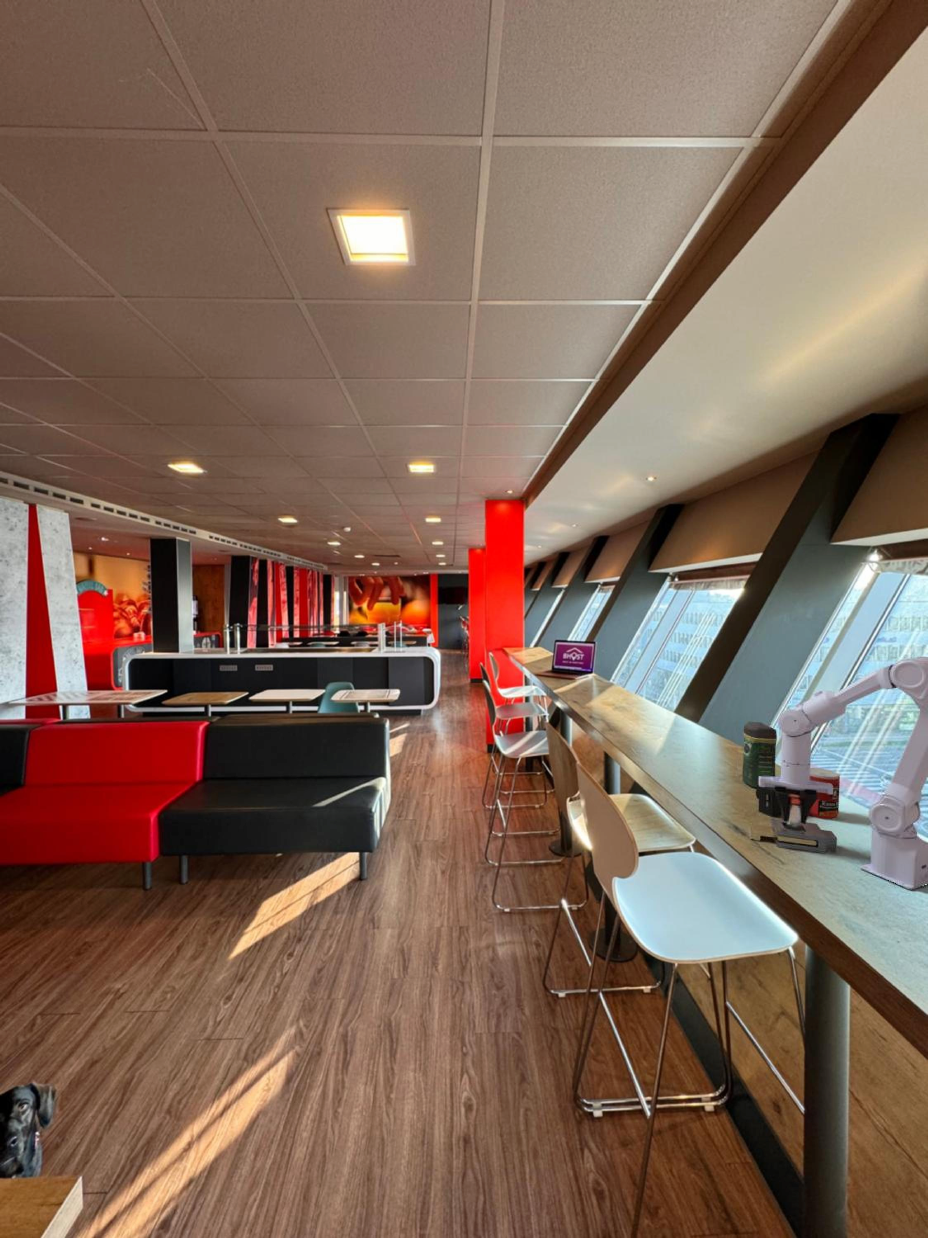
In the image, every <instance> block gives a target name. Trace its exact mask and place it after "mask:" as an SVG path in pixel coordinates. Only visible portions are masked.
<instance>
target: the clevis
mask: <svg viewBox="0 0 928 1238" xmlns="http://www.w3.org/2000/svg"><path fill="white" fill-rule="evenodd" d="M769 822H770V824H771V826H769V825H768V826H767V825H761V824H754V823H752V824H751V823H748V825H747V826H748V827H747V830H748V831H747V834H749V835H748V837H749V839H750V840H751V839H754V840H753V841H760V842H761V836H763V837H771V838H772V839H773V842H774V844H775V846H776V848H784V849H791V850H798V851H805V852H814V853H820V854H827V851H830V852H837V848H838V847H837V845H838V844H837V843H838V841H837V840H838V838H837V836H836V835H835V833H834V832H833V831H832V830H825V829H821V828H820V826H819V824H818V823H817V822H816V823H815V822H808V821H806V824H802V829H801V831H798V830H790V829H786V821H783V819H782V818H776V817H770V821H769Z"/></svg>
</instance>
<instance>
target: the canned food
mask: <svg viewBox="0 0 928 1238" xmlns="http://www.w3.org/2000/svg"><path fill="white" fill-rule="evenodd" d="M840 776H841V775H840V774H839V773H838V772H836V771H834V770H830V769H825V768H821V767H810V780H812V781H817V782H823V783H831V784H832V785H833V795H832V794H827V793H822V792H817V795H818V798H817V800H816V802H815V803H814V804H813V806H812V808H811V809H810V812H809V814H808V816H811V817H812V818H813V817H814V818H817V819H823V820H835V819H837V818H838V816H839V810H840V809H839V808H840V805H839V804H840V786H841V785H840V784H841V783H840V782H841V780H840Z"/></svg>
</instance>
